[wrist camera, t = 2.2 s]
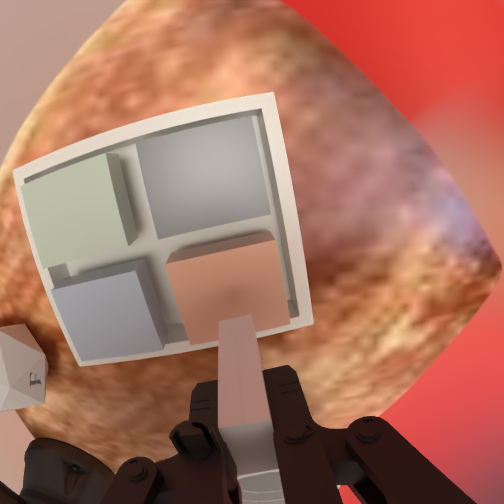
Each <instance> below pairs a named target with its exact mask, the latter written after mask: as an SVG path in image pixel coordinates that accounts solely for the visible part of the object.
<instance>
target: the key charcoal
mask: <svg viewBox="0 0 504 504" xmlns="http://www.w3.org/2000/svg"><path fill="white" fill-rule="evenodd" d="M136 149H137V153H138V158H139V163H140V168H141V172H142V177H143V181H144V185H145V190H146V194H147V198H148V202H149V206H150V210H151V214H152V218H153V222H154V226H155V230H156V234H157V238H158V240H159V239H163V238H167V237H171V236H175V235H180V234H184V233H188V232H193V231H197V230H201V229H206V228H210V227H215V226H219V225H224V224H228V223H233V222H237V221H242V220H247V219H251V218H256V217H261V216H265V215H270V214H271V211H270V205H269V200H268V195H267V190H266V185H265V180H264V175H263V170H262V165H261V160H260V155H259V150H258V145H257V140H256V135H255V130H254V126H253V121H252V116H250V117H244V118H239V119H233V120H228V121H223V122H219V123H214V124H209V125H205V126H200V127H196V128H192V129H187V130H183V131H179V132H175V133H171V134H168V135H164V136H160V137H156V138H153V139H149V140H146V141H142V142H139V143H136Z"/></svg>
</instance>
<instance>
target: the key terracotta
mask: <svg viewBox="0 0 504 504" xmlns="http://www.w3.org/2000/svg"><path fill="white" fill-rule="evenodd" d="M165 266H166V270H167V273H168V277H169V280H170V283H171V287H172V290H173V293H174V296H175V300H176V303H177V306H178V309H179V312H180V315H181V318H182V321H183V324H184V327H185V330H186V333H187V336H188V339H189V342H190V345H196V344H201V343H206V342H212V341H217V340H218V336H219V321H222V320H227V319H232V318H236V317H241V316H246V315H251V316H252V320H253V325H254V329H255V332H259V331H264V330H268V329H273V328H277V327H281V326H285V325H289V324H291V322H290V316H289V310H288V304H287V299H286V293H285V287H284V281H283V276H282V270H281V265H280V259H279V254H278V248H277V243H276V239H275V238H274V236H273V235H272V234H271V232H270V231H267V232H263V233H258V234H253V235H249V236H244V237H240V238H235V239H231V240H226V241H222V242H217V243H213V244H208V245H204V246H199V247H195V248H190V249H186V250H181V251H177V252H173V253H171V254H170V256H169V258H168V259H167V261H166V263H165Z"/></svg>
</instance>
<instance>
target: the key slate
mask: <svg viewBox="0 0 504 504" xmlns="http://www.w3.org/2000/svg"><path fill="white" fill-rule="evenodd" d="M51 293H52V295H53V298H54V300H55V303H56V305H57V308H58V310H59V313H60V315H61V318H62V320H63V322H64V325H65V327H66V329H67V331H68V334H69V336H70V338H71V340H72V342H73V344H74V347H75V349H76V351H77V353H78V355H79V357H80V359H81V361H88V360H97V359H105V358H113V357H120V356H128V355H135V354H142V353H148V352H155V351H161V350H164V347H165V343H166V339H167V336H168V329H167V326H166V323H165V321H164V318H163V315H162V312H161V309H160V306H159V303H158V300H157V297H156V294H155V291H154V288H153V285H152V281H151V278H150V275H149V272H148V268H147V265H146V262H145V259H142V260H138V261H134V262H129V263H125V264H121V265H117V266H112V267H108V268H104V269H100V270H96V271H91V272H87V273H83V274H79V275H75V276H71V277H67V278H65V279H63V280H62V281H61V282H60V283H59V284H57V285H56V286H55V287H54V288H53V289H51Z"/></svg>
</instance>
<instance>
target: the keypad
mask: <svg viewBox="0 0 504 504" xmlns="http://www.w3.org/2000/svg"><path fill="white" fill-rule="evenodd" d="M250 116H252V121H253V126H254V130H255V135H256V140H257V145H258V150H259V155H260V160H261V165H262V170H263V175H264V180H265V185H266V190H267V195H268V200H269V205H270V211H271V214H270V215H265V216H261V217H256V218H251V219H247V220H242V221H237V222H233V223H228V224H224V225H219V226H215V227H210V228H206V229H201V230H197V231H193V232H188V233H184V234H180V235H175V236H171V237H167V238H163V239H159V240H158V238H157V234H156V230H155V226H154V222H153V218H152V214H151V210H150V206H149V202H148V198H147V194H146V190H145V185H144V181H143V177H142V172H141V168H140V163H139V158H138V153H137V149H136V143H139V142H142V141H146V140H149V139H153V138H156V137H160V136H164V135H168V134H171V133H175V132H179V131H183V130H187V129H192V128H196V127H200V126H205V125H209V124H214V123H219V122H223V121H228V120H233V119H239V118H244V117H250ZM104 153H112V154H119V159H120V164H121V168H122V173H123V177H124V182H125V186H126V190H127V195H128V199H129V203H130V207H131V211H132V215H133V219H134V222H135V226H136V230H137V234H138V238H137V239H136V240H135V241H134V242H133V243H132V244H131V245H130V246H129V247H126V248H122V249H118V250H114V251H110V252H106V253H102V254H98V255H94V256H90V257H86V258H82V259H79V260H75V261H71V262H67V263H64V264H60V265H56V266H52V267H49V268H45V269H43V268H42V265H41V261H40V258H39V255H38V252H37V249H36V246H35V242H34V239H33V235H32V232H31V228H30V224H29V221H28V217H27V213H26V209H25V204H24V200H23V196H22V191H21V186H22V185H24V184H26V183H29V182H31V181H33V180H35V179H38V178H40V177H43V176H45V175H47V174H50V173H52V172H55V171H57V170H60V169H62V168H65V167H68V166H70V165H73V164H76V163H78V162H81V161H84V160H87V159H89V158H92V157H95V156H98V155H101V154H104ZM13 176H14V181H15V187H16V191H17V196H18V201H19V205H20V209H21V213H22V217H23V221H24V225H25V229H26V232H27V236H28V239H29V243H30V246H31V249H32V253H33V256H34V259H35V262H36V265H37V268H38V271H39V274H40V277H41V280H42V282H43V285H44V288H45V291H46V293H47V296H48V298H49V301H50V303H51V306H52V308H53V311H54V313H55V316H56V318H57V320H58V323H59V325H60V327H61V329H62V332H63V334H64V336H65V338H66V340H67V343H68V345H69V347H70V349H71V351H72V353H73V355H74V357H75V359H76V361H77V363H78V365H79V367H80V366H90V365H99V364H108V363H116V362H124V361H131V360H138V359H145V358H152V357H159V356H165V355H171V354H177V353H183V352H189V351H194V350H200V349H205V348H211V347H216V346H218V340H217V341H212V342H206V343H201V344H196V345H190V342H189V339H188V336H187V333H186V330H185V327H184V324H183V321H182V318H181V315H180V312H179V309H178V306H177V303H176V300H175V296H174V293H173V290H172V287H171V283H170V280H169V277H168V273H167V270H166V266H165V263H166V261H167V259H168V258H169V256H170V254H171V253H173V252H177V251H181V250H186V249H190V248H195V247H199V246H204V245H208V244H213V243H217V242H222V241H226V240H231V239H235V238H240V237H244V236H249V235H253V234H258V233H263V232H267V231H270V232H271V234H272V235H273V236H274V238H275V239H276V243H277V248H278V254H279V259H280V265H281V270H282V276H283V281H284V287H285V293H286V299H287V304H288V310H289V316H290V322H291V324H289V325H285V326H281V327H277V328H273V329H268V330H264V331H259V332H255V333H256V338H259V337H264V336H268V335H272V334H277V333H281V332H285V331H289V330H293V329H297V328H301V327H305V326H309V325H313V324H314V321H313V314H312V306H311V299H310V292H309V285H308V278H307V271H306V264H305V258H304V251H303V245H302V239H301V233H300V227H299V221H298V215H297V209H296V203H295V197H294V192H293V186H292V181H291V176H290V170H289V165H288V160H287V155H286V149H285V144H284V139H283V134H282V130H281V125H280V120H279V115H278V111H277V106H276V101H275V97H274V92H269V93H262V94H256V95H250V96H244V97H238V98H233V99H228V100H222V101H218V102H213V103H208V104H203V105H199V106H195V107H190V108H186V109H182V110H178V111H174V112H170V113H166V114H163V115H159V116H155V117H152V118H148V119H145V120H141V121H138V122H135V123H131V124H128V125H125V126H122V127H119V128H116V129H113V130H110V131H107V132H104V133H101V134H98V135H96V136H93V137H90V138H87V139H85V140H82V141H79V142H77V143H74V144H72V145H69V146H67V147H64V148H62V149H59V150H57V151H54V152H52V153H50V154H47V155H45V156H43V157H40V158H38V159H36V160H34V161H32V162H29V163H27V164H25V165H23V166H21V167H19V168H17V169H15V170H13ZM142 259H145V262H146V265H147V268H148V272H149V275H150V278H151V281H152V285H153V288H154V291H155V294H156V297H157V300H158V303H159V306H160V309H161V312H162V315H163V318H164V321H165V323H166V326H167V329H168V336H167V339H166V343H165V347H164V350H161V351H155V352H148V353H142V354H135V355H128V356H120V357H113V358H105V359H97V360H88V361H81V359H80V357H79V355H78V353H77V351H76V349H75V347H74V344H73V342H72V340H71V338H70V336H69V334H68V331H67V329H66V327H65V325H64V322H63V320H62V318H61V315H60V313H59V310H58V308H57V305H56V303H55V300H54V298H53V295H52V293H51V289H53V288H54V287H55V286H56V285H57V284H59V283H60V282H61V281H62V280H63V279H65V278H67V277H71V276H75V275H79V274H83V273H87V272H91V271H96V270H100V269H104V268H108V267H112V266H117V265H121V264H125V263H129V262H134V261H138V260H142Z"/></svg>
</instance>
